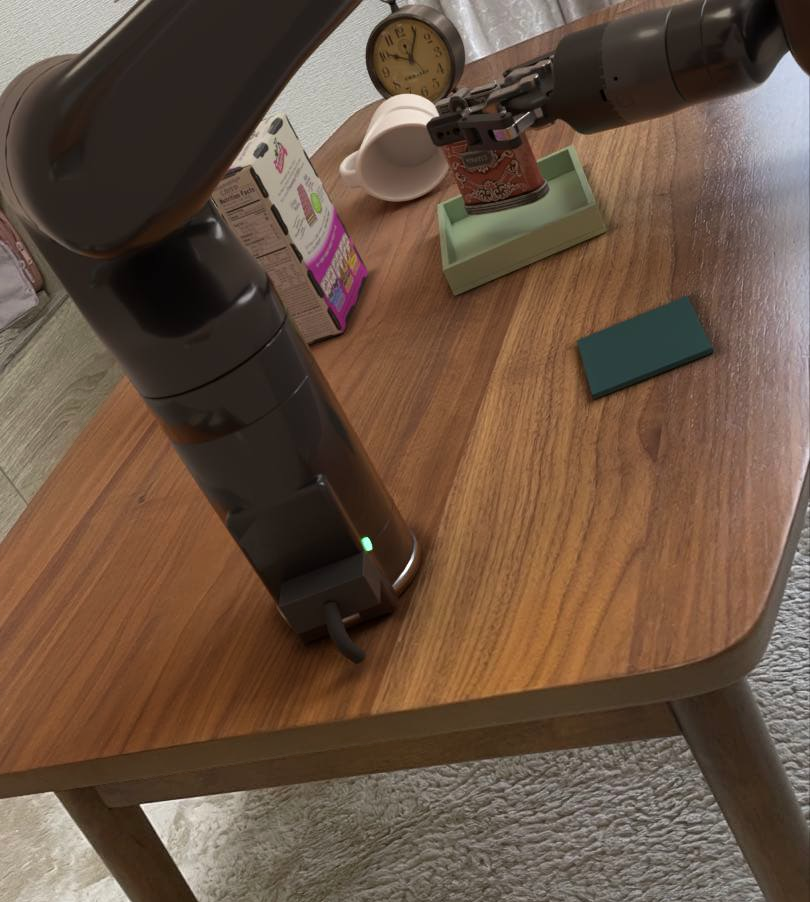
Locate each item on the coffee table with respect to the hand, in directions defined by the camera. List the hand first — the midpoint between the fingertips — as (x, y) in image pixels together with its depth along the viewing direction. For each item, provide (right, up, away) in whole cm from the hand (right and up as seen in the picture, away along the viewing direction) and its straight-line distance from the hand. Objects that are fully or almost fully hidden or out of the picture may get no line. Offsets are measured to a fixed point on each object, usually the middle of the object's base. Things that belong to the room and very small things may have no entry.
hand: (443, 122), depth 103 cm
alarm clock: (+1, +16, +42) cm, 45 cm away
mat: (+13, -22, -20) cm, 32 cm away
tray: (+7, -8, +4) cm, 11 cm away
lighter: (+6, -6, +2) cm, 9 cm away
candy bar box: (-9, -14, +8) cm, 19 cm away
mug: (-2, +2, +25) cm, 25 cm away
